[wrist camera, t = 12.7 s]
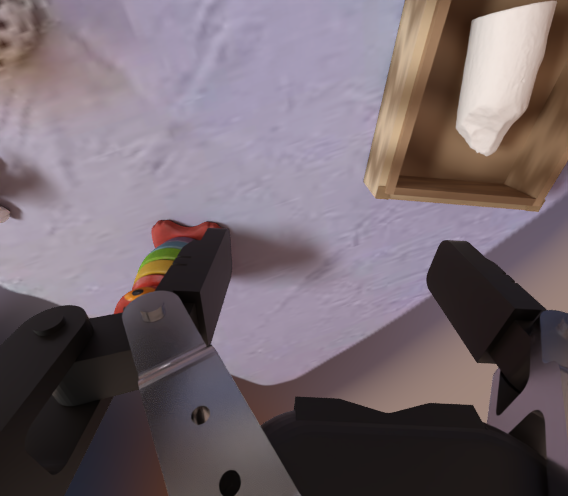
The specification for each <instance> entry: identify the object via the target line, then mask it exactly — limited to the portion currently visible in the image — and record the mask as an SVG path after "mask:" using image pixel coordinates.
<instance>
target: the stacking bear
mask: <svg viewBox="0 0 568 496" xmlns="http://www.w3.org/2000/svg"><path fill="white" fill-rule="evenodd" d="M208 228H221V227H219V225H218V224H216V223H211V222H204V223H202V224H200V225H198V226H195V227H184V226H180V225H178V224H176V223H174V222H172V221H169V220H165V221H162V220H160V221H158V222H157V223H156V224H155V225H154V226H153V228H152V239H153V243H154V246H155V249H154V250H153V251H152V252H151V253H150V254H149V255H148V256H147V257H146V258H145V259H144V261H143V262H142V264H141V266H140V268H139V270H138V274H137V276H136V278H135V281H134V285H133V288H132V291H130V292H128V293H127V294H126V295H124V296H123V297H122V298H121V299H120V301H119V302H118V304H117V306H116V308H115V311H114V314H117V313H122V312H123V311H124V309H125V308H126V306H127V305H128V304H129V303H130V302H131V301H133V300H134V299H136V298H137V297H139V296H141V295H143V294H146V293H149V292H154V291H155V289H156V288H157V286H158V285H159V283H160V282H161V280H162V278H163V277H164V275H165V274H166V272H167V271H168V269H169V268H170V266H171V265H172V263H173V261H174V260H175V258H177V255H178V254H179V252H180V251H181V249H182V248H183V247H184V246H185V245H187V244H188V243H189V242H191V241H192V240H201V239H202V237H203V235H204V234H205V232H206V230H207V229H208Z"/></svg>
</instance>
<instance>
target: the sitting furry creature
mask: <svg viewBox="0 0 568 496" xmlns="http://www.w3.org/2000/svg"><path fill="white" fill-rule="evenodd" d="M10 213H11V212H10V211H8V210H7V209H6V208H4V207H2V206H0V223H3V222H5V221H6V220H8V219H9V217H10V215H9V214H10Z"/></svg>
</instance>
